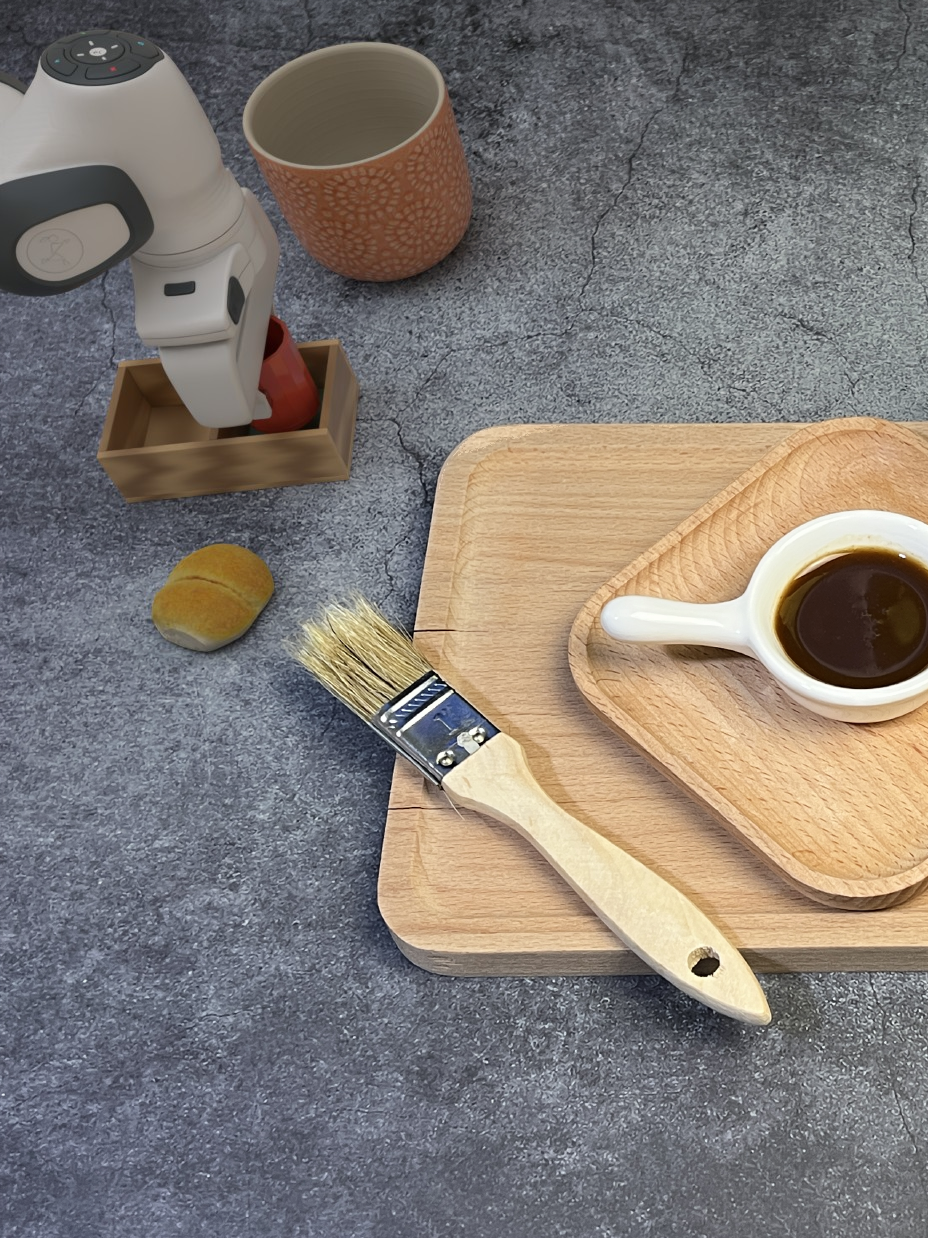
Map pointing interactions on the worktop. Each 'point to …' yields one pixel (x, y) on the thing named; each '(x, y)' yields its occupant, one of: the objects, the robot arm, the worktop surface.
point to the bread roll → (212, 597)
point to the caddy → (224, 436)
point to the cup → (285, 383)
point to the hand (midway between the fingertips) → (268, 378)
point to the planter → (363, 158)
